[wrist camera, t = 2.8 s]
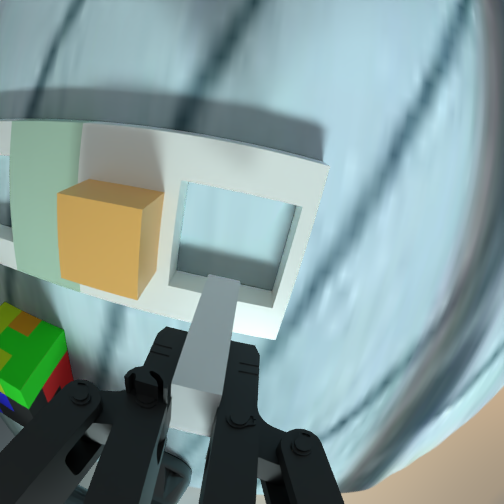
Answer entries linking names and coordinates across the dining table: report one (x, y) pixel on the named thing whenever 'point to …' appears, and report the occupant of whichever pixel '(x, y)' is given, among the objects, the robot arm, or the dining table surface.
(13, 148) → the plate
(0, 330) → the puzzle toy
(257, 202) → the dining table surface
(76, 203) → the orange block
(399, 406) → the dining table surface
